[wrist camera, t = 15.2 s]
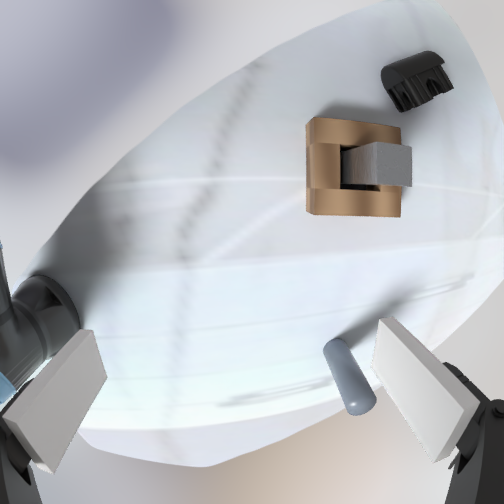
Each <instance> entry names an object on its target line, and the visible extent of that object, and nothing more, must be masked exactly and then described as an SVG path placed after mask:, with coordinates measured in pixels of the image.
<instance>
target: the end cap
mask: <svg viewBox="0 0 504 504" xmlns="http://www.w3.org/2000/svg"><path fill="white" fill-rule="evenodd" d="M443 63H445V62H444V60H443V59H442V58H441V57H440V56H439V55H438V54H436V53H435V52H432V51H424V52H421V53H418V54H416V55H413V56H410V57H408V58H405V59H402V60H400V61H397V62H395V63H392V64H390V65H387V66H385V67H384V68H383V69H382V71H381V80H382V83H383V86H384V88H385V89H386V91H387V93H388V94H389V96H390V98H391V99H392V101H393V103H394V104H395V106H396V108H397V109H398V111H399V112H401V113H402V112H405V111H408V110H410V109H411V108H413V107H414V108H415V107H418V106H420V105H422V104H424V103H426V102H428V101H430V100H432V99H433V97H434V96H436V95H438V94H441V93H446V92H448V91H450V90H452V89H454V87H453V85H452V83H451V82H450V80H449V78H448V76H447V75H446V73H445V71H444V70H443V68H442V66H441V65H442V64H443Z"/></svg>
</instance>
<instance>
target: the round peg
mask: <svg viewBox="0 0 504 504" xmlns="http://www.w3.org/2000/svg"><path fill="white" fill-rule="evenodd" d="M323 353H324V356H325V358H326V360H327V363H328V365H329V367H330V370H331V372H332V375H333V377H334V380H335V382H336V384H337V387H338V389H339V392H340V394H341V397H342V399H343V402H344V404H345V407H346V409H347V411H348V413H349V414H351V415H355V416H357V415H362V414H365V413H366V412H368V411H369V410H371V409H372V408H373V407H374V405H375V403H376V396H375V394H374V392H373V391H372V389H371V387H370V385H369V383H368V382H367V380H366V378H365V376H364V374H363V373H362V371H361V369H360V367H359V365H358V364H357V362H356V360H355V358H354V357H353V355H352V353H351V351H350V350H349V348H348V346H347V344H346V343H345V341H343V340H342V339H333V340H331V341H329V342H328V343H327V344H326V345H325V347H324V350H323Z"/></svg>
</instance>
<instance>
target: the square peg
mask: <svg viewBox="0 0 504 504" xmlns="http://www.w3.org/2000/svg"><path fill="white" fill-rule="evenodd" d="M340 184H358V185H386V186H407V187H412V148H411V147H410V146H404V145H398V144H391V143H384V142H373V143H370V144H367V145H364V146H360V147H357V148H354V149H351V150H348V151H345V152H342V153H340Z"/></svg>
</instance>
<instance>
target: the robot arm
mask: <svg viewBox="0 0 504 504" xmlns="http://www.w3.org/2000/svg"><path fill="white" fill-rule="evenodd" d="M2 248H3V247H2V244H1V242H0V404H2V403H4V402H5V401H6V400H7V399H8V398H9V397H11V396H12V395H14V394H15V393H16V391H17V390H18V389H19V388H20V386H21V385H22V384H23V383H24V382H25V381H26V380H27V379H28V378H29V377H30V376H31V375H32V374H33V372H34V371H35V370H36V369H37V368H38V367H39V366H40V365H41V364H42V363H43V362H44V361H45V360H47V359H50V358H52V359H51V360H50V362H49V363H48V364H47V365H46V366H45V367H44V368H43V369H42V370H41V372H40V373H39V374H38V375H37V376H36V377H35V378H33V379H31V380H30V381H28V382H26V383H25V384H24V385H23V386H22V387H21V388H20V390H19V391H18V392H17V393H16V394H15V395H14V396H13V398H12V399H11V400H10V401H9V402H8V403H7V405H6V406H5V407H4V408H3V409H2V411H1V412H0V504H42V501H41V498H40V495H39V492H38V489H37V485H36V482H35V478H34V474H33V470H32V468H31V466H30V465H29V462H30V460H31V459H32V460H33V462H34V463H35V464H36V465H37V466H38V468H39V469H42V470H44V471H46V472H49V473H51V474H54V473H55V471H56V469H57V467H58V465H59V463H60V461H61V459H62V458H63V456H64V454H65V452H66V450H67V448H68V446H69V444H70V442H71V441H72V438H73V437H74V435H75V433H76V431H77V430H78V428H79V426H80V424H81V422H82V421H83V419H84V417H85V415H86V413H87V412H88V410H89V408H90V406H91V405H92V403H93V401H94V400H95V398H96V396H97V394H98V393H99V391H100V389H101V388H102V386H103V384H104V383H105V381H106V379H107V378H108V377H107V374H106V372H105V369H104V366H103V362H102V359H101V356H100V353H99V350H98V346H97V343H96V339H95V336H94V332H93V330H83V329H80V323H79V318H78V314H77V311H76V309H75V306H74V304H73V302H72V301H71V299H70V297H69V296H68V294H67V293H66V292H65V290H64V289H63V288H62V287H61V286H60V285H59V284H58V283H56V282H55V281H54V280H52V279H51V278H49V277H46V276H42V275H36V276H33V277H31V278H29V279H27V280H25V281H24V282H22V283H21V284H20V286H19V287H18V289H17V290H16V291H15V293H14V294H13V295H12V297H11V296H10V292H9V287H8V282H7V277H6V272H5V266H4V261H3V255H2V254H3V253H2ZM371 369H372V370H373V372H374V373H375V375H376V376H377V378H378V379H379V381H380V382H381V384H382V385H383V387H384V388H385V390H386V391H387V392H388V394H389V396H390V397H391V399H392V400H393V401H394V403H395V405H396V406H397V408H398V409H399V411H400V412H401V414H402V415H403V417H404V418H405V420H406V421H407V423H408V425H409V426H410V428H411V429H412V431H413V433H414V434H415V436H416V437H417V439H418V440H419V442H420V444H421V445H422V447H423V448H424V450H425V452H426V453H427V455H428V456H429V458H430V459H431V461H432V463H435V462H438V461H440V460H442V459H444V458H446V457H448V456H449V455H450V454H451V452H452V451H453V449H454V448H455V446H457V448H458V449H459V453H458V454H457V456H456V457H455V459H454V460H453V461H452V463H451V464H450V466H449V468H448V469H451V468H452V467H453V465H454V464H455V466H454V471H453V475H452V479H451V483H450V487H449V490H448V494H447V497H446V501H445V504H504V400H501V399H496V400H492V401H490V400H489V399H488V398H487V397H486V396H485V395H484V394H483V393H482V392H481V391H480V390H479V389H478V388H477V387H476V386H475V385H474V384H473V383H472V382H471V381H469V379H468V378H467V377H466V376H464V375H463V373H462V372H461V371H460V370H459V369H458V368H457V367H455V366H453V365H451V364H449V363H447V362H445V363H441V362H440V361H439V360H438V359H437V358H436V357H435V356H434V355H433V354H432V353H431V352H430V351H429V350H428V349H427V348H426V347H425V346H424V345H423V344H422V343H421V342H420V341H419V340H418V339H417V338H416V337H414V336H413V335H412V334H411V333H410V332H409V331H408V330H407V329H406V328H405V327H404V326H403V325H402V324H401V323H400V322H398V321H397V320H396V319H395V318H394V317H388V318H381V319H379V324H378V330H377V336H376V342H375V347H374V353H373V358H372V363H371Z"/></svg>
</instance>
